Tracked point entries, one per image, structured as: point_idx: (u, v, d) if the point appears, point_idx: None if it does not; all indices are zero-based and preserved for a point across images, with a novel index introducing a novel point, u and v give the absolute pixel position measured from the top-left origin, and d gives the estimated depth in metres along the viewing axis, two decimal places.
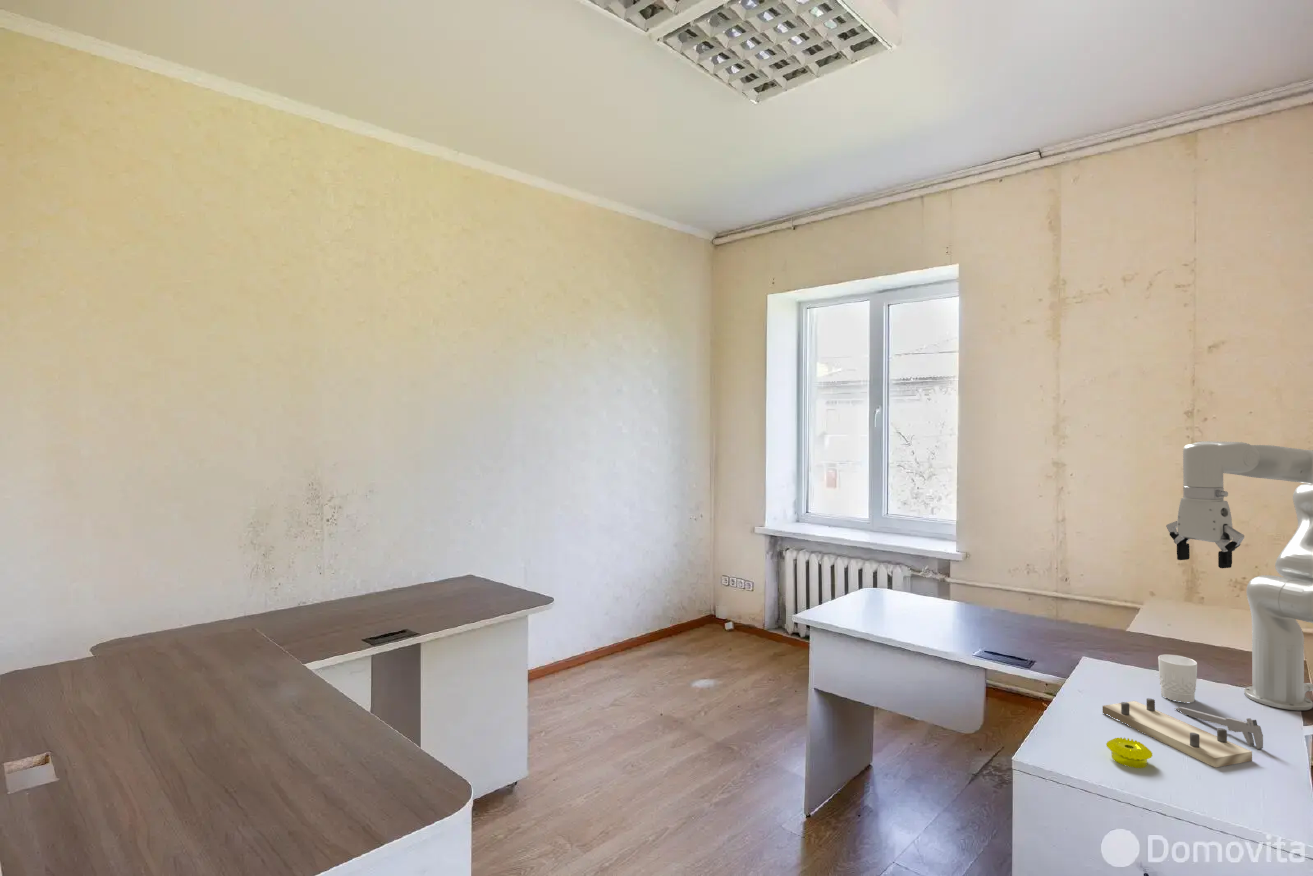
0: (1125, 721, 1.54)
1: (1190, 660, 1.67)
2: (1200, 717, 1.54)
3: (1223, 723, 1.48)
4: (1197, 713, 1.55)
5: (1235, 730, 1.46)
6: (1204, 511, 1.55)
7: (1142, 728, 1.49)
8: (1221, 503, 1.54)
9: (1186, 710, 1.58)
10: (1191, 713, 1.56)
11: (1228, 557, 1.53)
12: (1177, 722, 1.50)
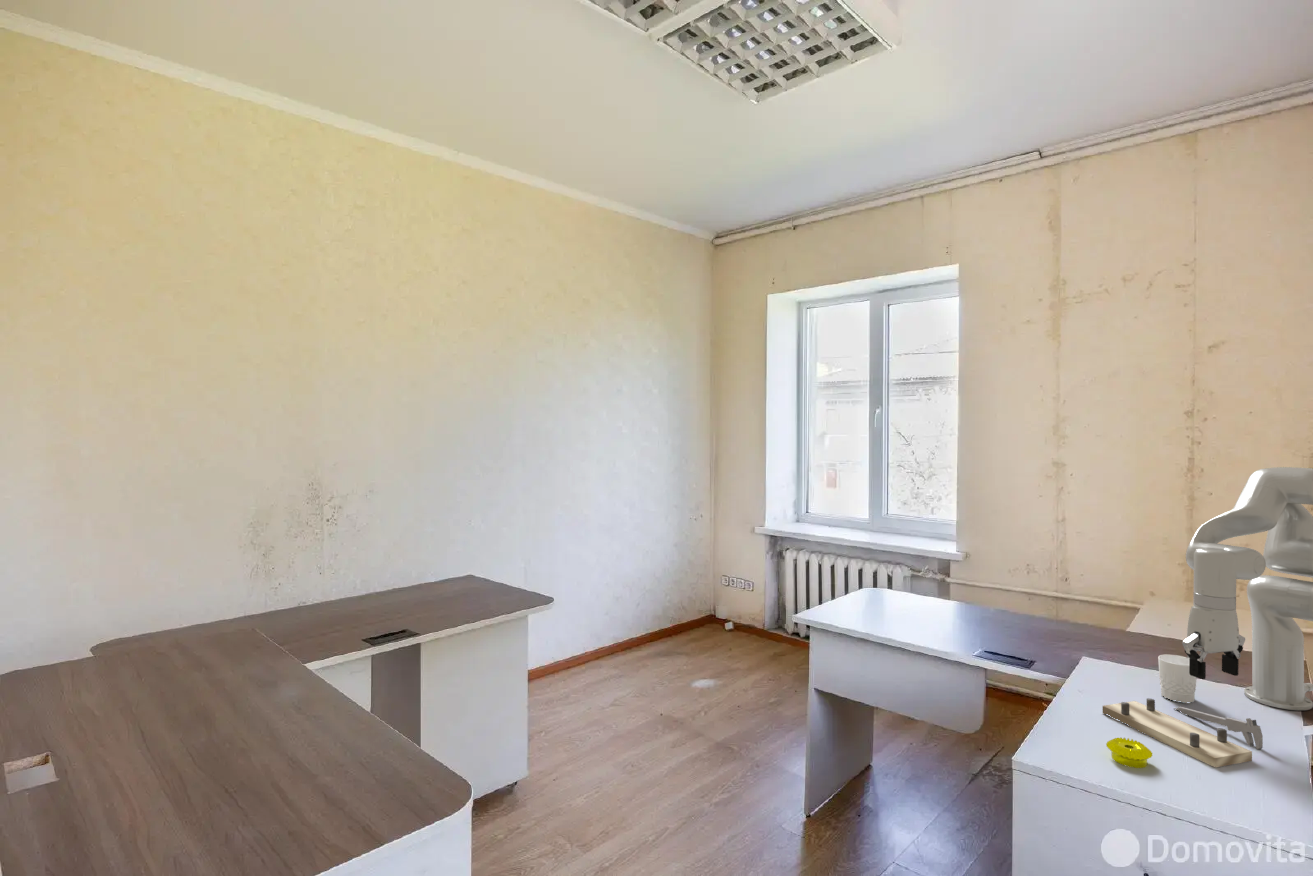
0: (1125, 721, 1.54)
1: None
2: (1200, 717, 1.54)
3: (1223, 723, 1.48)
4: (1197, 713, 1.55)
5: (1235, 730, 1.46)
6: (1232, 621, 1.48)
7: (1142, 728, 1.49)
8: None
9: (1186, 710, 1.58)
10: (1191, 713, 1.56)
11: None
12: (1177, 722, 1.50)
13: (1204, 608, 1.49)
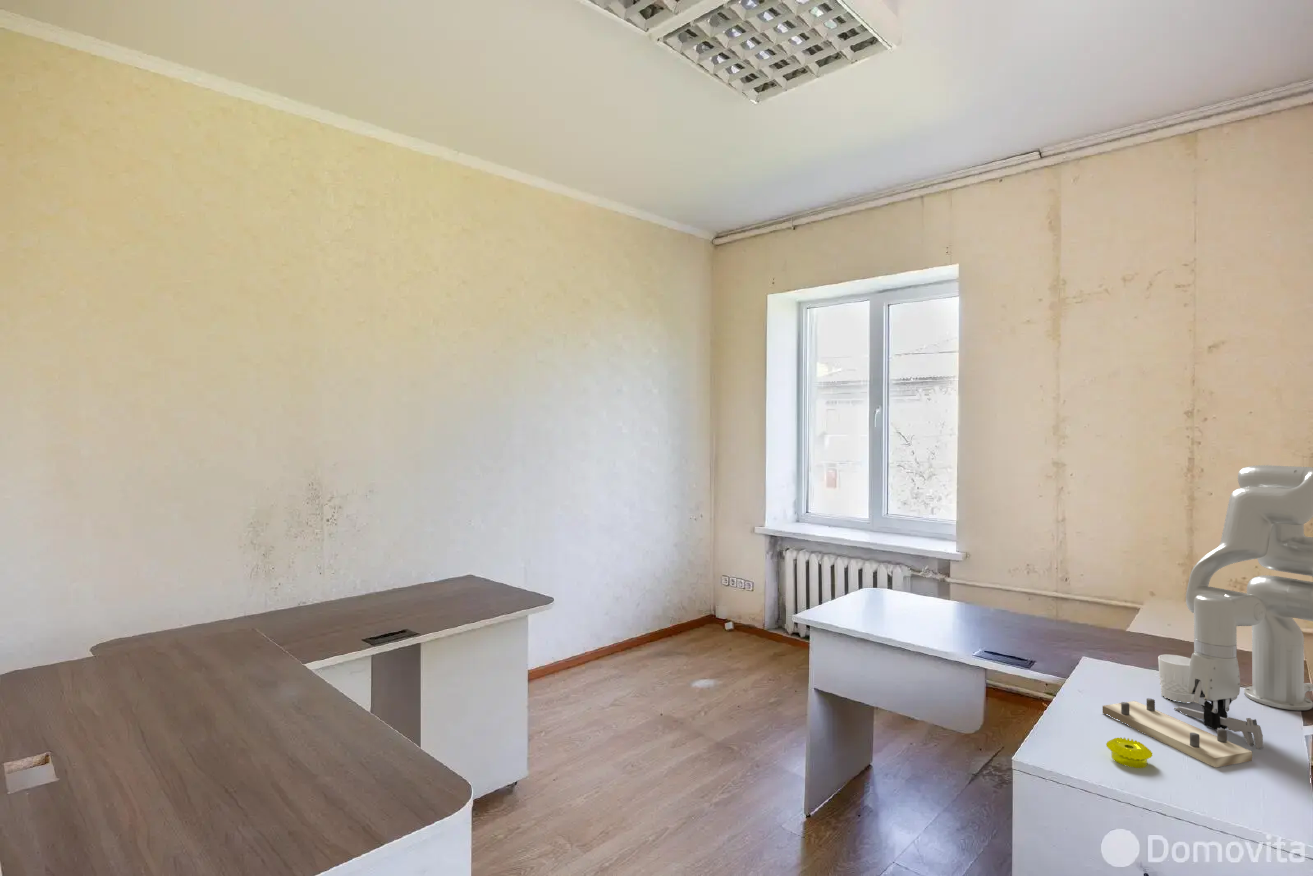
0: (1125, 721, 1.54)
1: None
2: (1200, 717, 1.54)
3: (1223, 723, 1.49)
4: (1197, 713, 1.55)
5: (1235, 730, 1.46)
6: (1233, 668, 1.49)
7: (1142, 728, 1.49)
8: None
9: (1186, 710, 1.58)
10: (1191, 713, 1.56)
11: None
12: (1177, 722, 1.50)
13: (1205, 656, 1.49)
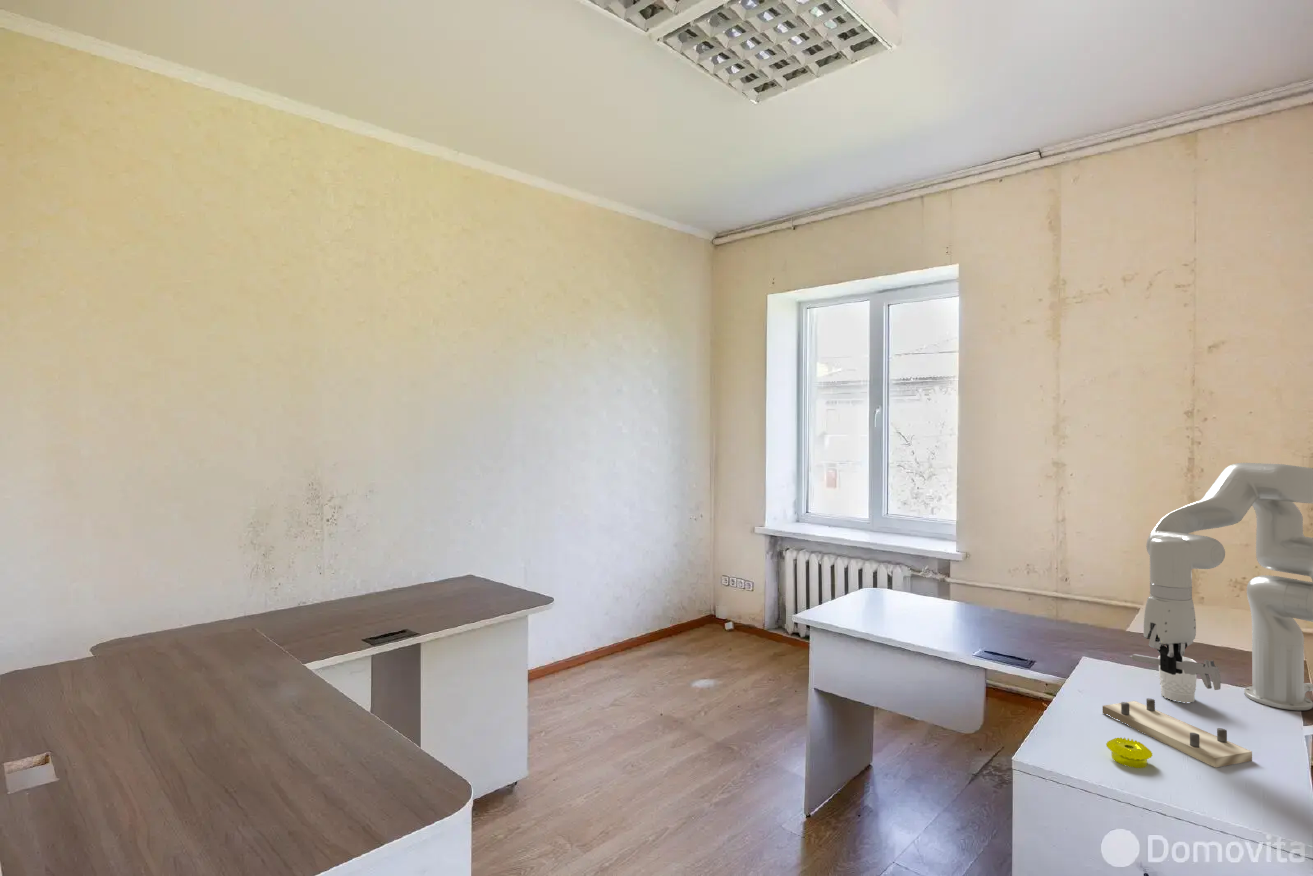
0: (1125, 721, 1.54)
1: (1190, 660, 1.67)
2: (1155, 663, 1.51)
3: (1179, 667, 1.45)
4: (1152, 659, 1.51)
5: (1192, 673, 1.43)
6: (1188, 611, 1.46)
7: (1142, 728, 1.49)
8: None
9: (1140, 657, 1.54)
10: (1146, 659, 1.53)
11: None
12: (1177, 722, 1.50)
13: (1160, 599, 1.46)
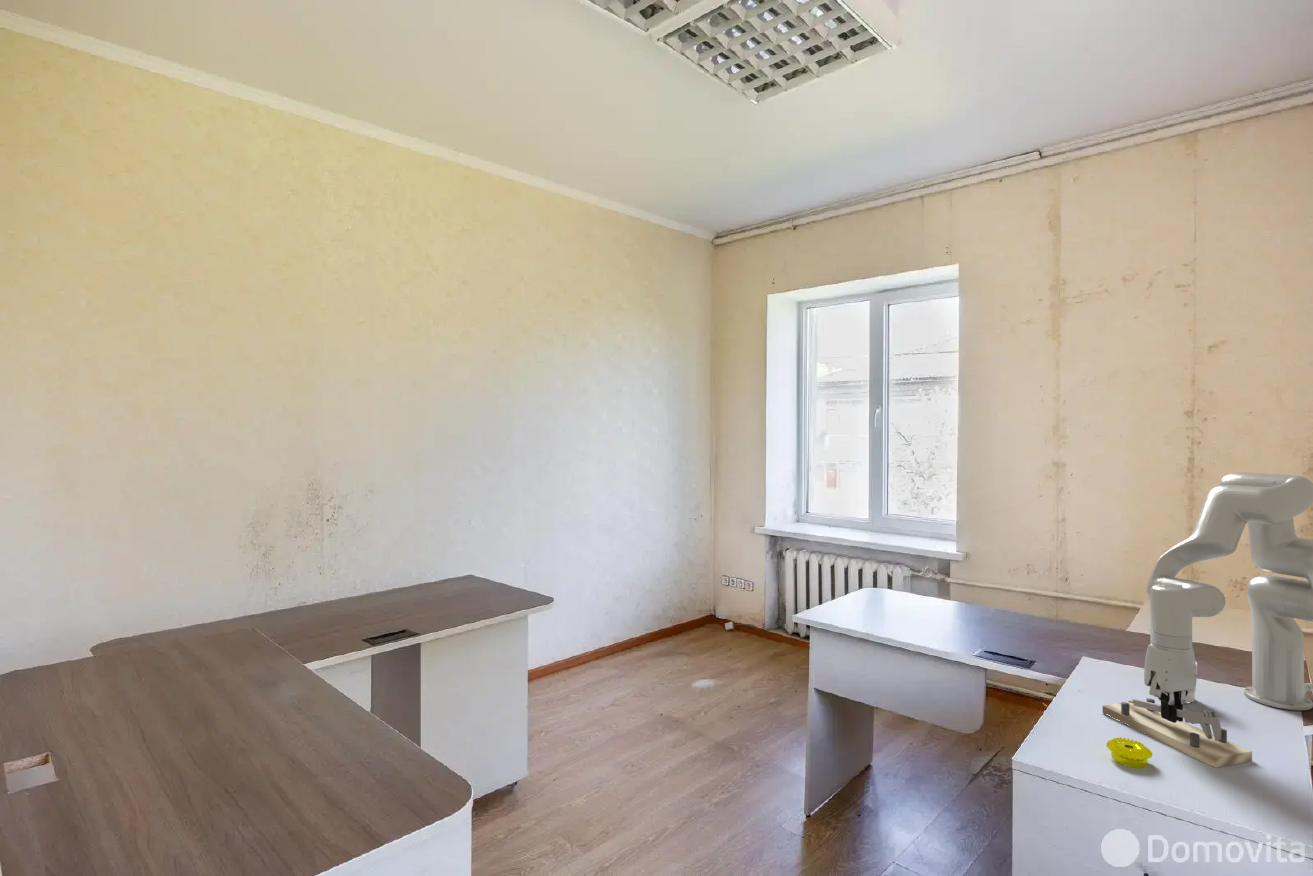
0: (1125, 721, 1.54)
1: None
2: (1156, 709, 1.51)
3: (1180, 715, 1.46)
4: (1152, 705, 1.52)
5: (1192, 722, 1.43)
6: (1189, 659, 1.46)
7: (1142, 728, 1.49)
8: None
9: (1141, 702, 1.54)
10: (1147, 705, 1.53)
11: None
12: (1177, 722, 1.50)
13: (1160, 647, 1.46)
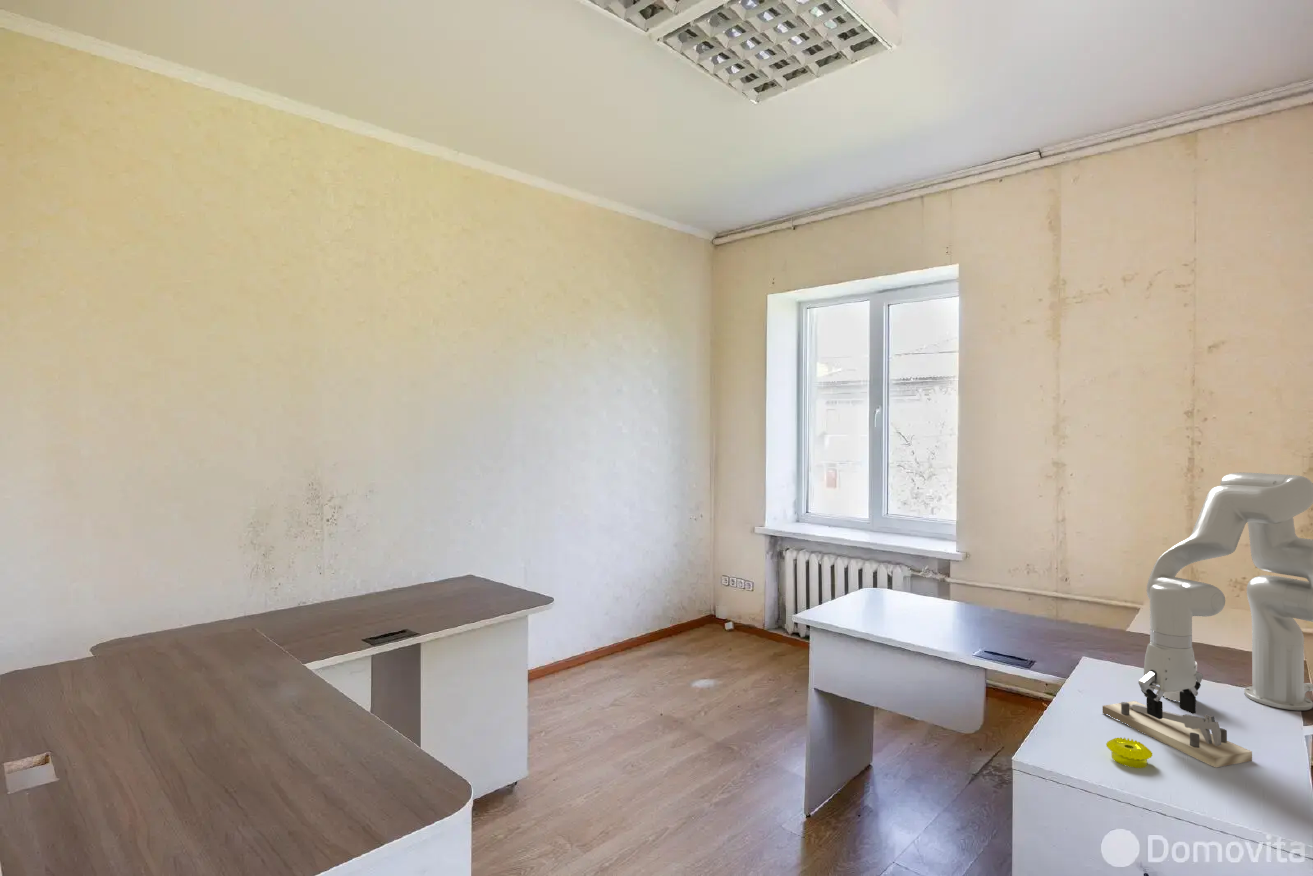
0: (1125, 721, 1.54)
1: None
2: None
3: (1180, 720, 1.46)
4: None
5: (1192, 727, 1.43)
6: (1188, 658, 1.46)
7: (1142, 728, 1.49)
8: None
9: (1141, 707, 1.55)
10: (1146, 710, 1.53)
11: None
12: (1177, 722, 1.50)
13: (1160, 646, 1.46)
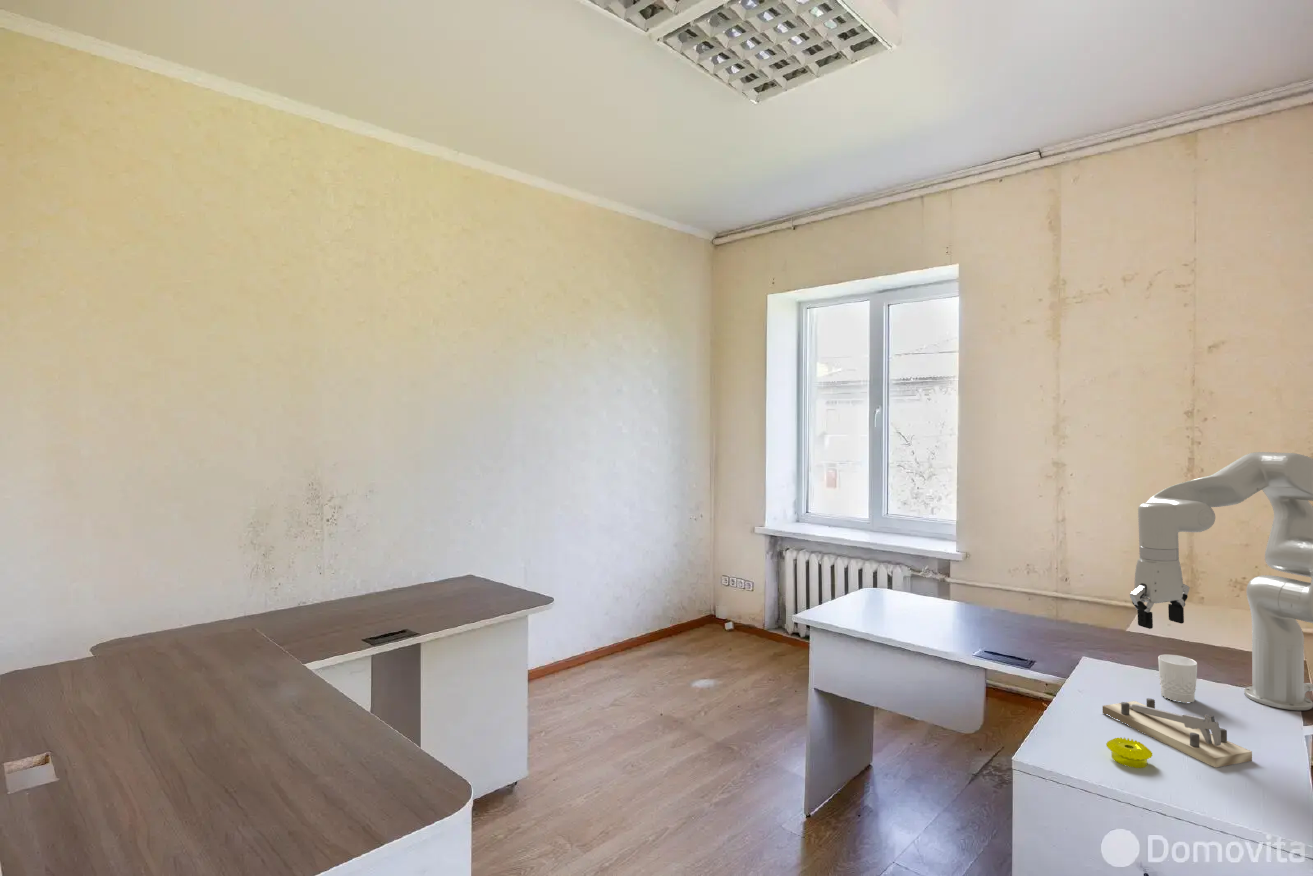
0: (1125, 721, 1.54)
1: (1190, 660, 1.67)
2: (1155, 714, 1.51)
3: (1179, 720, 1.46)
4: (1152, 710, 1.52)
5: (1192, 727, 1.43)
6: (1176, 571, 1.54)
7: (1142, 728, 1.49)
8: None
9: (1140, 707, 1.55)
10: (1146, 710, 1.53)
11: None
12: (1177, 722, 1.50)
13: (1149, 560, 1.54)
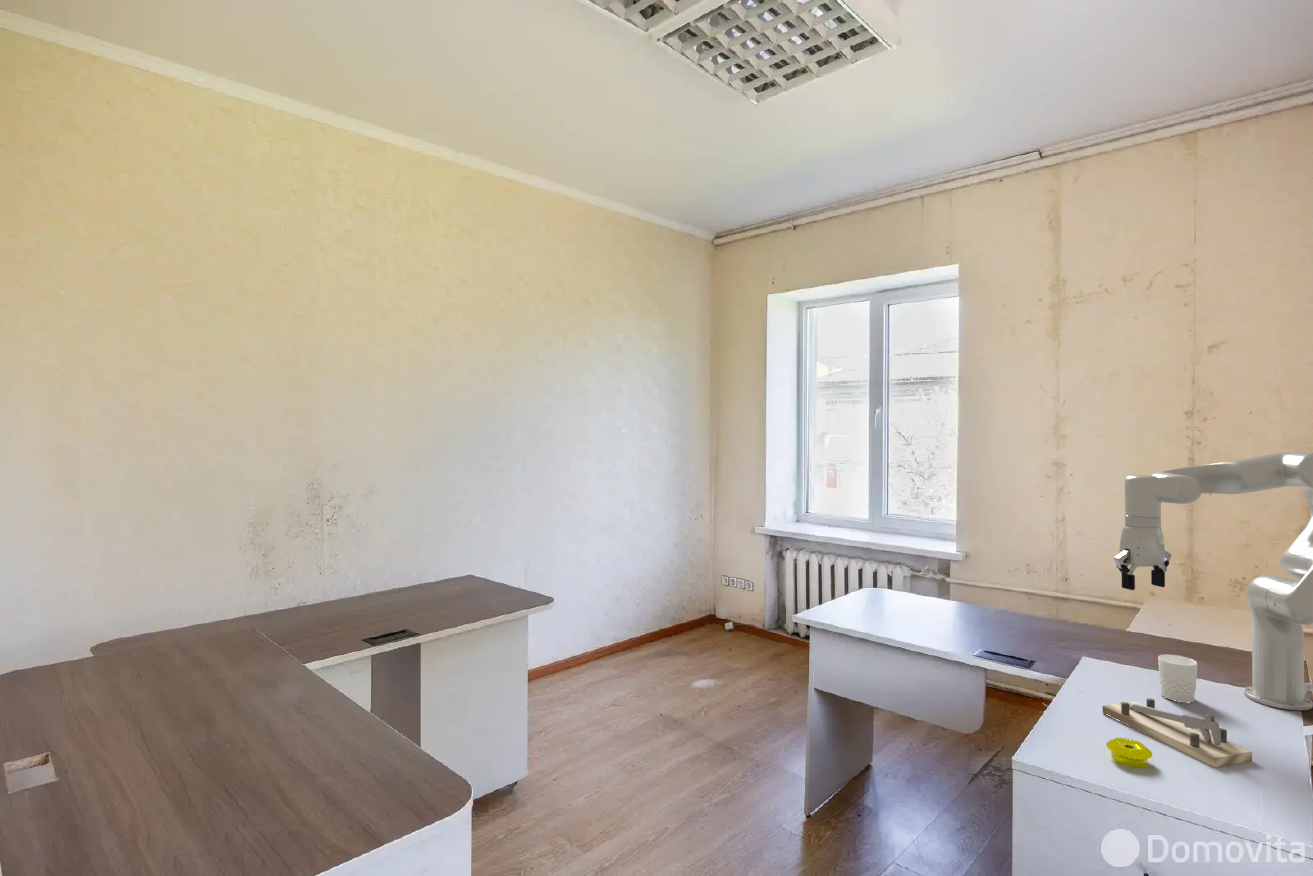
0: (1125, 721, 1.54)
1: (1190, 660, 1.67)
2: (1155, 714, 1.51)
3: (1179, 720, 1.46)
4: (1152, 710, 1.52)
5: (1192, 727, 1.43)
6: (1158, 538, 1.67)
7: (1142, 728, 1.49)
8: None
9: (1140, 707, 1.55)
10: (1146, 710, 1.53)
11: None
12: (1177, 722, 1.50)
13: (1133, 527, 1.68)
